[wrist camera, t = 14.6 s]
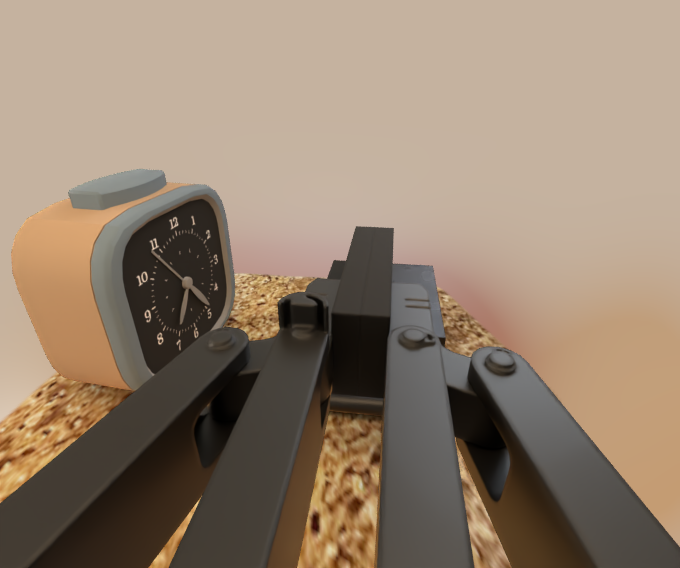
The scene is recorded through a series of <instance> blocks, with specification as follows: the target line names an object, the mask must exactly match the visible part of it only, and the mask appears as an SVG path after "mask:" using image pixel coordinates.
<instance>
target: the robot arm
mask: <svg viewBox="0 0 680 568" xmlns="http://www.w3.org/2000/svg"><path fill="white" fill-rule="evenodd" d="M393 231H394V228H378V227H356V229H355V232H354V235H353V239H352V242H351V246H350V249H349V253H348V256H347V260H346V263H345V267H344V270H343V273H342V277H341V280H337V279H321V278H317V279H315V280H314V281H313V282H311V283H310V284H309V285H308V286H307V289H306V291H305V292H297V293H293V294H289V295H287V296H285V297H283V298H281V299H280V300H279V302H278V314H279V326H280V330H279V332H278V334H277V336H275V337H273V338H269V339H264V340H256V341H249V339H248V335H247V334H246V333H245V332H244V331H243V330H240V329H238V328H231V327H224V328H218V329H215V330H212V331H209V332H207V333H205V334H204V335H202V336H201V337H199V338H198V339H197V340H196V341H195V342H193V343H192V344H191V345H190V346H189V347H187V348H186V349H185V350H184V351H183V352H181V353H180V354H179V355H178V356H177V357H175V358H174V359H173V360H172V361H171V362H169V363H168V364H167V365H166V366H165V367H163V368H162V369H161V370H160V371H159V372H157V373H156V374H155V375H154V376H153V377H151V378H150V379H149V380H148V381H147V382H145V383H144V384H143V385H142V386H141V387H139V388H138V389H137V390H136V391H135V392H133V393H132V394H131V395H130V396H129V397H127V398H126V399H125V400H124V401H123V402H121V403H120V404H119V405H118V406H117V407H115V408H114V409H113V410H112V411H111V412H109V413H108V414H107V415H106V416H105V417H103V418H102V419H101V420H100V421H99V422H97V423H96V424H95V425H94V426H93V427H91V428H90V429H89V430H88V431H87V432H85V433H84V434H83V435H82V436H81V437H79V438H78V439H77V440H76V441H75V442H73V443H72V444H71V445H70V446H69V447H67V448H66V449H65V450H64V451H63V452H61V453H60V454H59V455H58V456H57V457H55V458H54V459H53V460H52V461H51V462H49V463H48V464H47V465H46V466H45V467H43V468H42V469H41V470H40V471H39V472H37V473H36V474H35V475H34V476H33V477H31V478H30V479H29V480H28V481H27V482H25V483H24V484H23V485H22V486H21V487H19V488H18V489H17V490H16V491H15V492H13V493H12V494H11V495H10V496H9V497H7V498H6V499H5V500H4V501H3V502H1V503H0V568H148V567H149V566H150V565H151V563H152V562H153V561H154V559H155V558H156V557H157V555H158V554H159V553H160V551H161V550H162V549H163V547H164V546H165V545H166V543H167V542H168V541H169V539H170V538H171V536H172V535H173V534H174V532H175V531H176V530H177V528H178V527H179V526H180V524H181V523H182V522H183V520H184V519H185V518H186V516H187V515H188V514H189V512H190V511H191V509H192V508H193V507H194V505H195V504H196V503H197V501H198V500H199V499H200V497H201V496H202V497H201V499H200V501H199V504H198V506H197V508H196V510H195V512H194V514H193V516H192V519H191V521H190V523H189V525H188V527H187V529H186V531H185V534H184V536H183V538H182V540H181V542H180V544H179V546H178V549H177V551H176V553H175V555H174V557H173V559H172V561H171V564H170V566H169V568H297V566H298V561H299V556H300V551H301V546H302V541H303V536H304V531H305V527H306V522H307V517H308V512H309V507H310V502H311V497H312V492H313V487H314V483H315V478H316V473H317V468H318V463H319V458H320V453H321V448H322V444H323V439H324V434H325V429H326V424H327V419H328V414H329V409H330V390H331V385H332V394H340V395H350V396H361V397H371V398H382V399H383V412H382V426H381V450H380V469H379V488H378V507H377V526H376V545H375V564H374V568H474V562H473V555H472V548H471V542H470V535H469V529H468V522H467V515H466V509H465V502H464V495H463V489H462V482H461V476H460V469H459V462H458V456H457V449H456V443H455V437H456V442H457V445H458V448H459V450H460V452H461V454H462V457H463V459H464V461H465V463H466V466H467V468H468V470H469V472H470V475H471V477H472V479H473V481H474V483H475V486H476V488H477V490H478V492H479V495H480V497H481V499H482V501H483V504H484V506H485V508H486V510H487V513H488V515H489V517H490V519H491V522H492V524H493V526H494V528H495V531H496V533H497V535H498V537H499V539H500V542H501V544H502V546H503V548H504V551H505V553H506V555H507V557H508V560H509V562H510V564H511V566H512V568H680V547H679V546H678V545H677V543H676V542H675V541H674V540H673V538H672V537H671V536H670V535H669V534H668V532H667V531H666V530H665V529H664V527H663V526H662V525H661V524H660V523H659V521H658V520H657V519H656V518H655V517H654V515H653V514H652V513H651V512H650V510H649V509H648V508H647V507H646V506H645V504H644V503H643V502H642V501H641V500H640V498H639V497H638V496H637V495H636V493H635V492H634V491H633V490H632V489H631V487H630V486H629V485H628V484H627V483H626V481H625V480H624V479H623V478H622V476H621V475H620V474H619V473H618V472H617V470H616V469H615V468H614V467H613V465H612V464H611V463H610V462H609V461H608V459H607V458H606V457H605V456H604V455H603V453H602V452H601V451H600V450H599V448H598V447H597V446H596V445H595V444H594V442H593V441H592V440H591V439H590V437H589V436H588V435H587V434H586V433H585V432H584V430H583V429H582V428H581V427H580V425H579V424H578V423H577V422H576V421H575V419H574V418H573V417H572V416H571V414H570V413H569V412H568V411H567V409H566V408H565V407H564V406H563V405H562V403H561V402H560V401H559V400H558V399H557V397H556V396H555V395H554V394H553V392H552V391H551V390H550V389H549V388H548V386H547V385H546V384H545V383H544V381H543V380H542V379H541V378H540V377H539V375H538V374H537V373H536V372H535V371H534V369H533V368H532V367H531V366H530V365H529V363H528V362H527V361H526V360H525V359H524V358H522V357H521V356H520V355H518V354H517V353H515V352H513V351H511V350H508V349H504V348H500V347H483V348H479V349H477V350H476V351H475V352H473V354H472V357H467V356H464V355H460V354H457V353H455V352H452V351H450V350H448V349H446V348H445V347H443V346H442V345H441V343H440V340H439V338H438V336H437V335H436V334H435V333H434V328H433V320H432V313H431V306H430V299H429V291H428V290H427V289H426V288H425V287H424V286H423V285H422V284H419V283H403V282H392V260H393V233H394V232H393Z"/></svg>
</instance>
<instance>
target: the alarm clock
mask: <svg viewBox="0 0 680 568" xmlns="http://www.w3.org/2000/svg"><path fill="white" fill-rule="evenodd" d="M68 194H69V197H70V198H69V199H66V200H63V201H60V202H57V203H54V204H52V205H51V206H49V207H47V208H45V209H43V210H42V211H40V212H38V213H36V214H34V215H32V216H31V217H29V218H27V220H26V221H25V223H24V224H23V225H22V227H21V228H20V230H19V231H18V233H17V234H16V236H15V240H14V244H13V248H12V252H11V257H12V271H13V276H14V279H15V282H16V285H17V288H18V291H19V294H20V296H21V298H22V301H23V303H24V305H25V307H26V310H27V312H28V315H29V317H30V319H31V321H32V324H33V326H34V328H35V331H36V333H37V335H38V337H39V340H40V342H41V345H42V347H43V349H44V352H45V354H46V355H47V358H48V360H49V361H50V363H51V365H52V367H53V368H54V369H55V370H56V371H57V372H58V373H59V374H60V375H62V376H63V377H65V378H68V379H71V380H74V381H80V382H86V383H91V384H97V385H102V386H108V387H114V388H119V389H125V390H131V391H136V390H137V389H138V388H139V387H141V386H142V385H143V384H144V383H145V382H147V381H148V380H149V379H150V378H151V377H153V376H154V375H155V374H156V373H157V372H159V371H160V370H161V369H162V368H163V367H165V366H166V365H167V364H168V363H169V362H171V361H172V360H173V359H174V358H175V357H177V356H178V355H179V354H180V353H181V352H183V351H184V350H185V349H186V348H187V347H189V346H190V345H191V344H192V343H193V342H195V341H196V340H197V339H198V338H199V337H201V336H202V335H204V334H205V333H207V332H209V331H212V330H215V329H218V328H222V327H223V325H224V324H225V322H226V321H227V319H228V318H229V316H230V313H231V310H232V307H233V302H234V297H235V278H234V269H233V262H232V255H231V247H230V239H229V232H228V225H227V219H226V214H225V210H224V207H223V204H222V201H221V199H220V197H219V196H218V194H217V193H216V192H215V190H213V189H211V188H210V187H209V186H207V185H199V184H183V183H167V182H166V179H165V174H164V172H163V171H162V170H145V169H136V170H131V171H126V172H121V173H117V174H113V175H109V176H106V177H102V178H98V179H95V180H92V181H89V182H87V183H84V184H82V185H79V186H77V187H75V188H73V189H71V190H69V192H68Z"/></svg>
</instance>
